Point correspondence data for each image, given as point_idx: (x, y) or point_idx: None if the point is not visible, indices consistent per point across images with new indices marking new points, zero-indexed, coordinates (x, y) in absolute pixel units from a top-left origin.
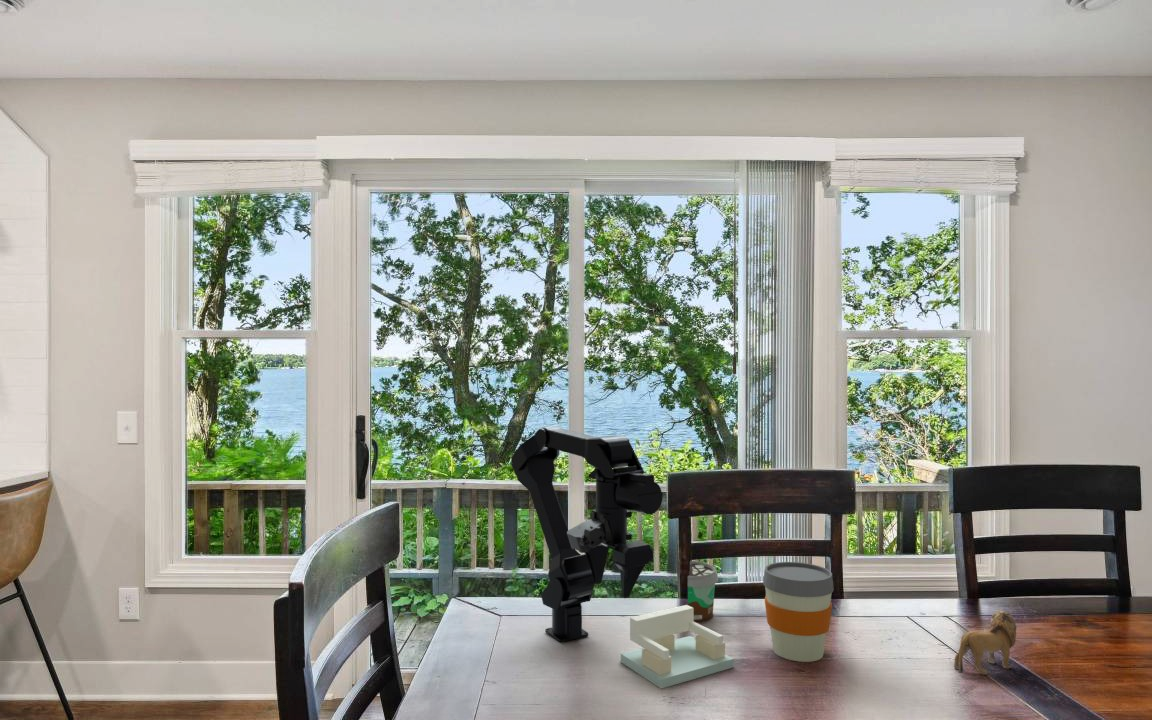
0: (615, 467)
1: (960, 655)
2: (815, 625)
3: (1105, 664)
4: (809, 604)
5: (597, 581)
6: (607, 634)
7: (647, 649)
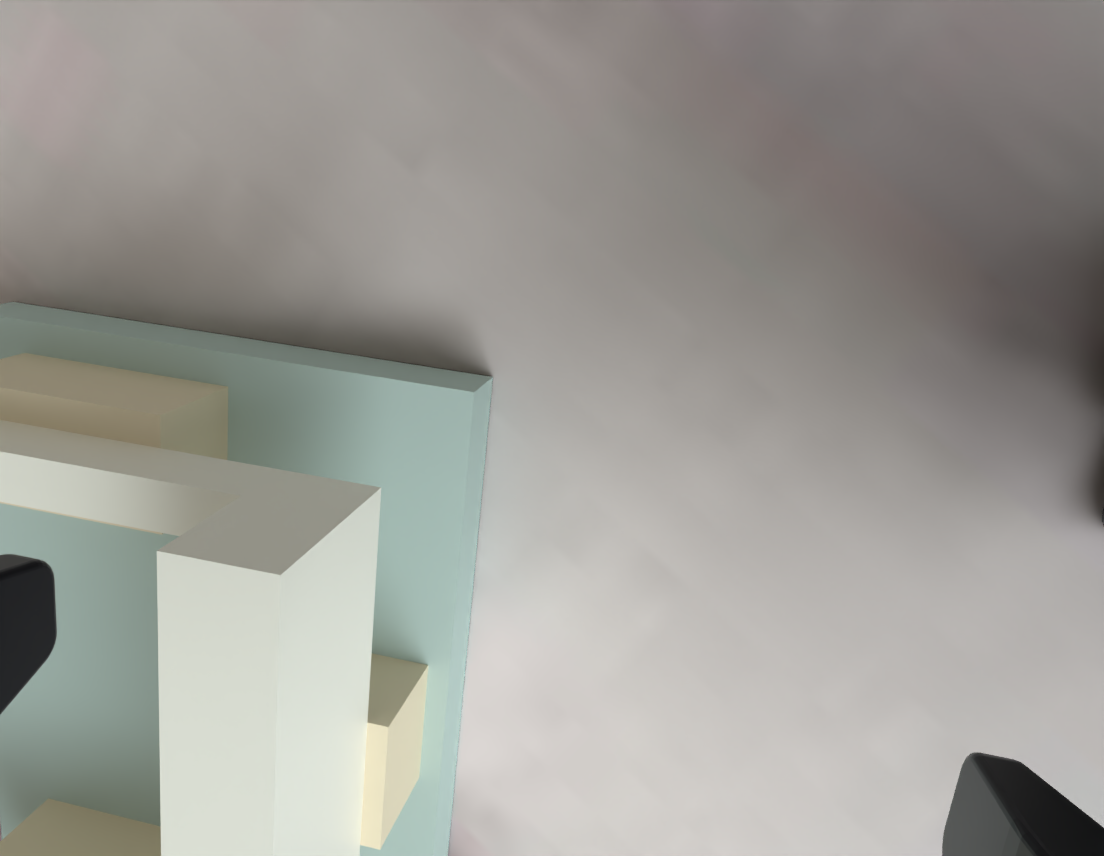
0: None
1: None
2: None
3: None
4: None
5: (968, 800)
6: (1003, 681)
7: (124, 443)
